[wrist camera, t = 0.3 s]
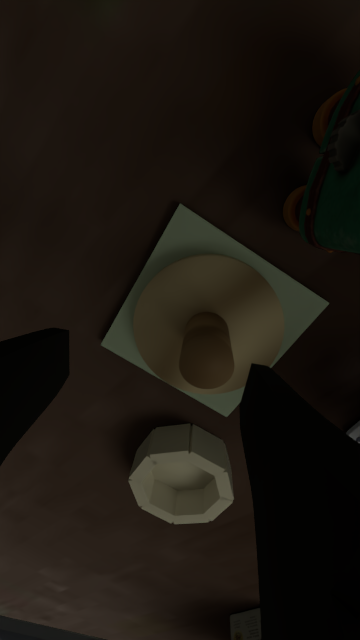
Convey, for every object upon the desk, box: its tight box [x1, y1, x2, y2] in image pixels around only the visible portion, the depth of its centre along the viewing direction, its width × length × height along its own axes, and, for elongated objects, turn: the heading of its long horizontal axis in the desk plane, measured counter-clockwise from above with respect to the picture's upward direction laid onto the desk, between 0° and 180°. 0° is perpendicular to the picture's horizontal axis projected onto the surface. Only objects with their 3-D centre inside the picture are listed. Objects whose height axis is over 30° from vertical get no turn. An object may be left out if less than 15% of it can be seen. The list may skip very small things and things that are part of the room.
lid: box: [133, 253, 284, 394], centre depth 17 cm, size 10×10×6 cm
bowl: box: [128, 423, 234, 524], centre depth 25 cm, size 8×8×3 cm
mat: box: [101, 204, 329, 417], centre depth 20 cm, size 12×12×1 cm
